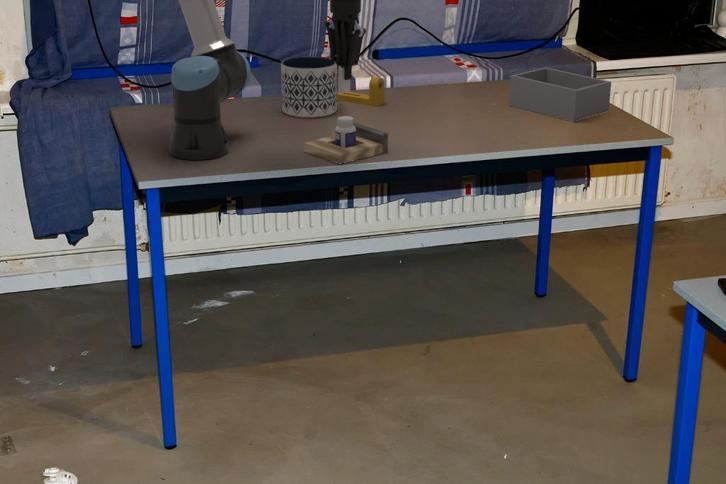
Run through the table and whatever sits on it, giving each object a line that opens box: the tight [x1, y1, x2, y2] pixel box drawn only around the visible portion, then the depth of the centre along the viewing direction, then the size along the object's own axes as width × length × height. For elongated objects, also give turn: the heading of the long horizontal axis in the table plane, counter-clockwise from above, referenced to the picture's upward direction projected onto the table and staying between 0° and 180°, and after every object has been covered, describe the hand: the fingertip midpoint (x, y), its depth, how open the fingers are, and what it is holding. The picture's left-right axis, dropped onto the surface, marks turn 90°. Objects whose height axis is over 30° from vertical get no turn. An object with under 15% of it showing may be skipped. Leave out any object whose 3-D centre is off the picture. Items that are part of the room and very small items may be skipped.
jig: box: [303, 121, 389, 164], centre depth 279 cm, size 16×14×5 cm
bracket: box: [337, 76, 385, 108], centre depth 326 cm, size 15×4×8 cm, turn 58°
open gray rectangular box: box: [508, 67, 612, 121], centre depth 318 cm, size 16×24×9 cm, turn 42°
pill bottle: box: [334, 115, 356, 148], centre depth 279 cm, size 5×5×9 cm
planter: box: [280, 55, 338, 119], centre depth 314 cm, size 16×16×14 cm
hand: (344, 91), depth 275 cm, fingers closed
